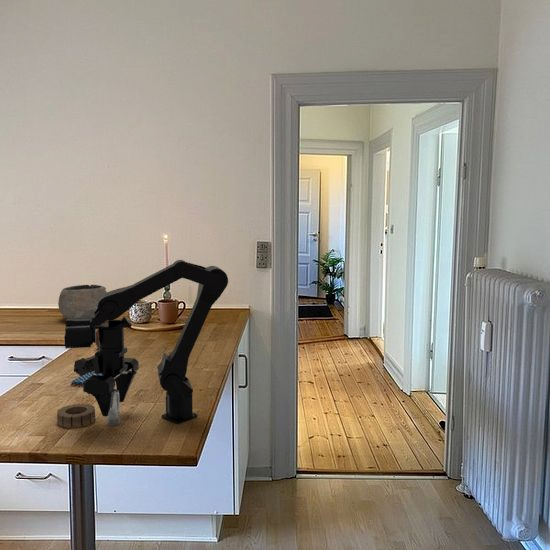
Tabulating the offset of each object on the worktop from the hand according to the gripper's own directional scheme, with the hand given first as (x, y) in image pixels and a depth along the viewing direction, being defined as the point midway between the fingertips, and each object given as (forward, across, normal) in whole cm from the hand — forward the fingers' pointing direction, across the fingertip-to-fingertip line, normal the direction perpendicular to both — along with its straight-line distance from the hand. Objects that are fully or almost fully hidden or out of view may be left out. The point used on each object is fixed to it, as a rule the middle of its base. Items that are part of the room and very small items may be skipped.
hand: (113, 408), depth 133 cm
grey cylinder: (+4, 0, 0) cm, 4 cm away
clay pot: (+4, -104, -59) cm, 120 cm away
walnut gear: (+4, 0, -10) cm, 10 cm away
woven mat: (+4, -28, -18) cm, 33 cm away
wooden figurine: (+4, -61, -30) cm, 68 cm away
